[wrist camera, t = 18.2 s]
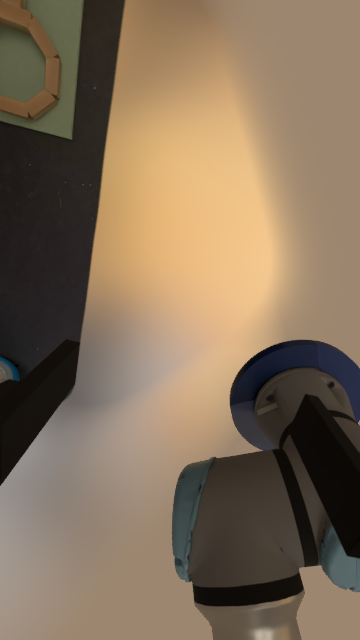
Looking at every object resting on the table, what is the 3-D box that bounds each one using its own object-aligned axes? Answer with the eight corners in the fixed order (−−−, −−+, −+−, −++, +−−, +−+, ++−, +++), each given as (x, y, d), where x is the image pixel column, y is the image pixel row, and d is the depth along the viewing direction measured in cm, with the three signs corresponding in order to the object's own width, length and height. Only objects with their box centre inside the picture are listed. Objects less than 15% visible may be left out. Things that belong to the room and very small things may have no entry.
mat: (72, 140, 34) (70, 139, 34) (-25, 114, 34) (-27, 113, 33) (94, -117, 27) (92, -122, 26) (-31, -156, 26) (-34, -162, 26)
